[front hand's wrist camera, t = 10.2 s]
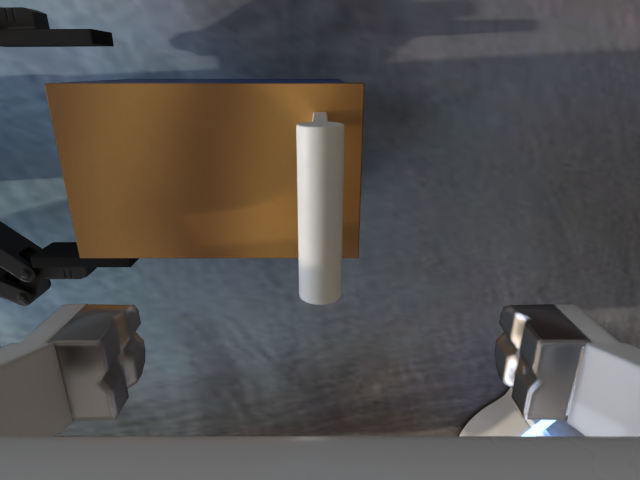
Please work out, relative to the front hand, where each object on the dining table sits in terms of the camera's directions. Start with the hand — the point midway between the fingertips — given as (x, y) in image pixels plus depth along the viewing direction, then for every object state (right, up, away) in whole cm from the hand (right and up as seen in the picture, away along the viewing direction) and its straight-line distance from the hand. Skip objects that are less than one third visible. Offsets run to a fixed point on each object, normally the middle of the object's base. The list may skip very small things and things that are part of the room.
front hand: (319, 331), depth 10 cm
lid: (-6, +6, +15) cm, 17 cm away
